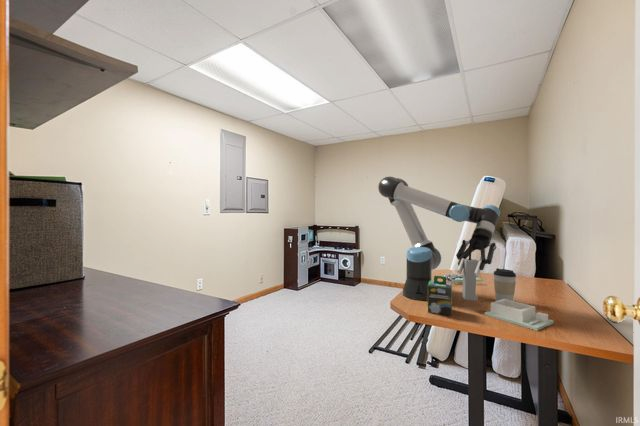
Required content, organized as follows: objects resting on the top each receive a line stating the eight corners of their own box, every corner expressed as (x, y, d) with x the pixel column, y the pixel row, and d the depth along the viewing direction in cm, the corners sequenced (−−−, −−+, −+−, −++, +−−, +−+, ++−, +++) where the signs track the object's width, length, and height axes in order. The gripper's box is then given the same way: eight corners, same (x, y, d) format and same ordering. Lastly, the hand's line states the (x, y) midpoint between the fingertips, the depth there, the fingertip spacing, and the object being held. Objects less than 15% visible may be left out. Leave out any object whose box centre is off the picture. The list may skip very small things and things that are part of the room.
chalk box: (451, 309, 121) (452, 274, 121) (451, 316, 112) (452, 279, 112) (428, 306, 125) (429, 272, 125) (427, 312, 116) (427, 276, 116)
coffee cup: (518, 302, 132) (519, 269, 132) (512, 306, 126) (512, 272, 126) (496, 297, 139) (497, 266, 139) (489, 301, 133) (490, 269, 133)
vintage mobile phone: (477, 301, 119) (479, 241, 118) (464, 299, 120) (466, 240, 119) (474, 298, 122) (476, 240, 122) (462, 297, 123) (464, 239, 123)
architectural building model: (484, 314, 115) (484, 302, 115) (502, 309, 122) (502, 297, 122) (537, 330, 99) (537, 316, 99) (553, 323, 107) (554, 309, 107)
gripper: (509, 240, 124) (495, 283, 113) (463, 236, 138) (447, 274, 127) (505, 228, 120) (490, 272, 110) (459, 226, 134) (442, 264, 124)
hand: (467, 273), depth 119 cm, fingers closed on vintage mobile phone, 6 cm apart
